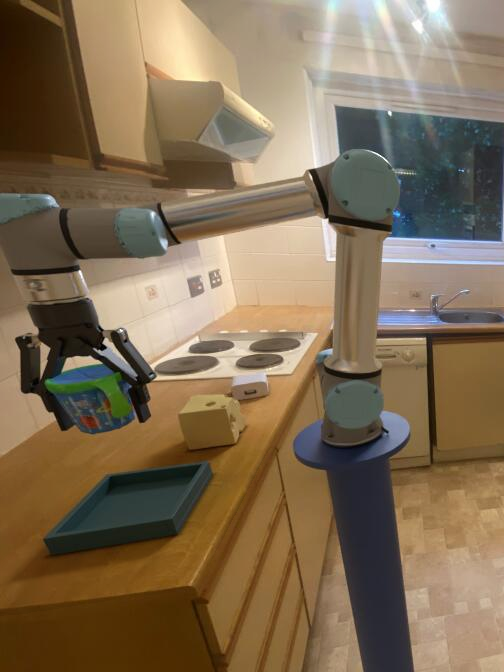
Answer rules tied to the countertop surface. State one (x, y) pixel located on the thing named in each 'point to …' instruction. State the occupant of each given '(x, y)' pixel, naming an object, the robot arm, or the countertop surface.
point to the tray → (131, 508)
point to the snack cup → (93, 398)
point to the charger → (249, 386)
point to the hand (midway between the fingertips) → (108, 423)
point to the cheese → (211, 421)
